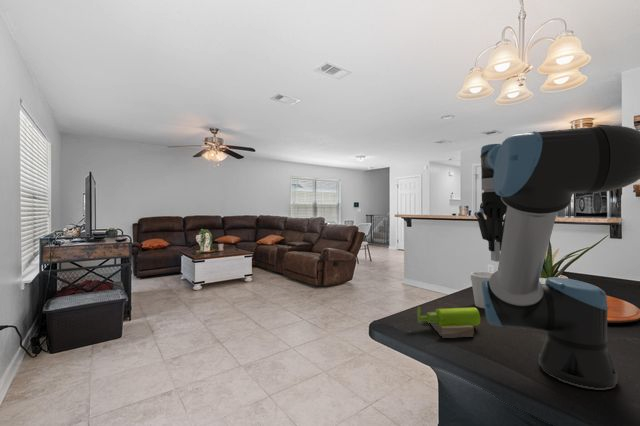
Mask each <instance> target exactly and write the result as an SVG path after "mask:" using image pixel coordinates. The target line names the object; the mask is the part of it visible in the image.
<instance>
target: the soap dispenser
mask: <svg viewBox="0 0 640 426" xmlns="http://www.w3.org/2000/svg"><path fill="white" fill-rule="evenodd" d="M421 312H422V308H421V307H420V306H419V305H418V306H417V311H416V316H417V322H418V323H419V324H422V322H427V324H429V323H437V324H438V325H439V326H440V327H441V326H462V325H472V326H473V327H474V326H479V325H480V323H481V315H480V312H479V310H478V307H477V308H476V306H473V307H472V306H471V307H451V308H450V307H448V308H447V307H445V308H436V309H435V311H434V312H435V313H427V312H426V315H422V314H421Z"/></svg>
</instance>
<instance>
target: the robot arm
mask: <svg viewBox="0 0 640 426" xmlns="http://www.w3.org/2000/svg"><path fill="white" fill-rule="evenodd" d="M480 164H481V166H480V167H481V191H483V192H482V193H481V204H482V205H481V207H480V210H478V211H475V212H474V216H475V218H476V219H477V223H478V227H479V230H480V234H481V238H482V240H485V241H487V243H488V251H490V260H491V261H492V262H497V263H498V267H497V270H496V271H494V272H492V273H493V274H492V276H491V277H490V280H489V281H488V280H487V281H483V282H482V283H481V285H482V294H483V301H484V307H485V308H484V312H485V318H486V321H487V323H488V324H489V325H491V326H495V327H502V328H510V329H522V330H524V329H525V330H534V331H545V332H546V337H545V340H544V343H543V346H542V349H541V351H540V353H539V355H538V366H539V365H540V366H541V368H542V369H544V370H545V371H546V372H547V373H549V374H551V375H553V376H555V377H557V378H560V379H562V380H565V381H568V382H571V383H574V384H578V385H583V386H588V387H594V388H606V387H613V386H615V385H616V384H617V385H618V373H617V371H616V369H615V367H614V366H615V365H614V363H613V361H612V358H611V356H610V354H609V351H608V310H609V307H608V301H607V298H608V297H607V294H606V292H605V291H604V289H602V288H600V287H599V286H597V285H594V284H592V283H588V282H585V281H581V280H578V279H573V278H566V277H561V276H560V277H557V276H552V277H551V276H550V277H547V278H546V280H545V281H544V283H542V282H541V281H540V278H541V274H542V270H543V265H544V262H545V259H546V256H547V255H546V254H547V251H548V248H549V245H550V241H551V236H552V233H553V229H554V225H555V223H556V218H557V214H558V213H561V212H563V211H564V210H565V209H567V207H569V206H570V204H571V201H572V197H573V195H574V194H588V193H589V194H591V193H605V192H612V191H615V190H619V189H622V188H626V187H627V186H630V185H632V184H634V183H636V182H637V181H639V180H640V130H637V129H635V128H631V127H628V126H621V125H595V126H594V125H593V126H587V127H579V128H568V129H567V128H566V129H556V130H546V131H545V130H544V131H529V132H525V133H520V134H514V135H510V136H508V137H507V138H506V139H504V140H503V141H502V142H500V143H489V144H485V145H483V146H482V147H481V149H480ZM485 217H486V218H485ZM540 366H539V367H540ZM541 368H540V369H541ZM542 369H541V370H542Z"/></svg>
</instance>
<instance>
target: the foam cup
mask: <svg viewBox="0 0 640 426" xmlns="http://www.w3.org/2000/svg"><path fill="white" fill-rule="evenodd" d="M493 273H494V272H489V271H471V272H470V280H471V281H470V282H471V287H472V293H473V298H474V305H475V307H477V308H480V309H485V307H484V301H483V294H482V285H481V283H482V282H483V281H487V280H488V281H489V280H490V277H491V276H492V274H493Z"/></svg>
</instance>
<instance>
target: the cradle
mask: <svg viewBox="0 0 640 426" xmlns="http://www.w3.org/2000/svg"><path fill="white" fill-rule="evenodd" d="M427 313H435V311H430V312H429V311H427V312H426V314H427ZM474 328H475V327H474V325H473V326H472V325H462V326H441V333H442V334H474V333H475V331H474ZM474 335H475V334H474Z"/></svg>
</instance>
